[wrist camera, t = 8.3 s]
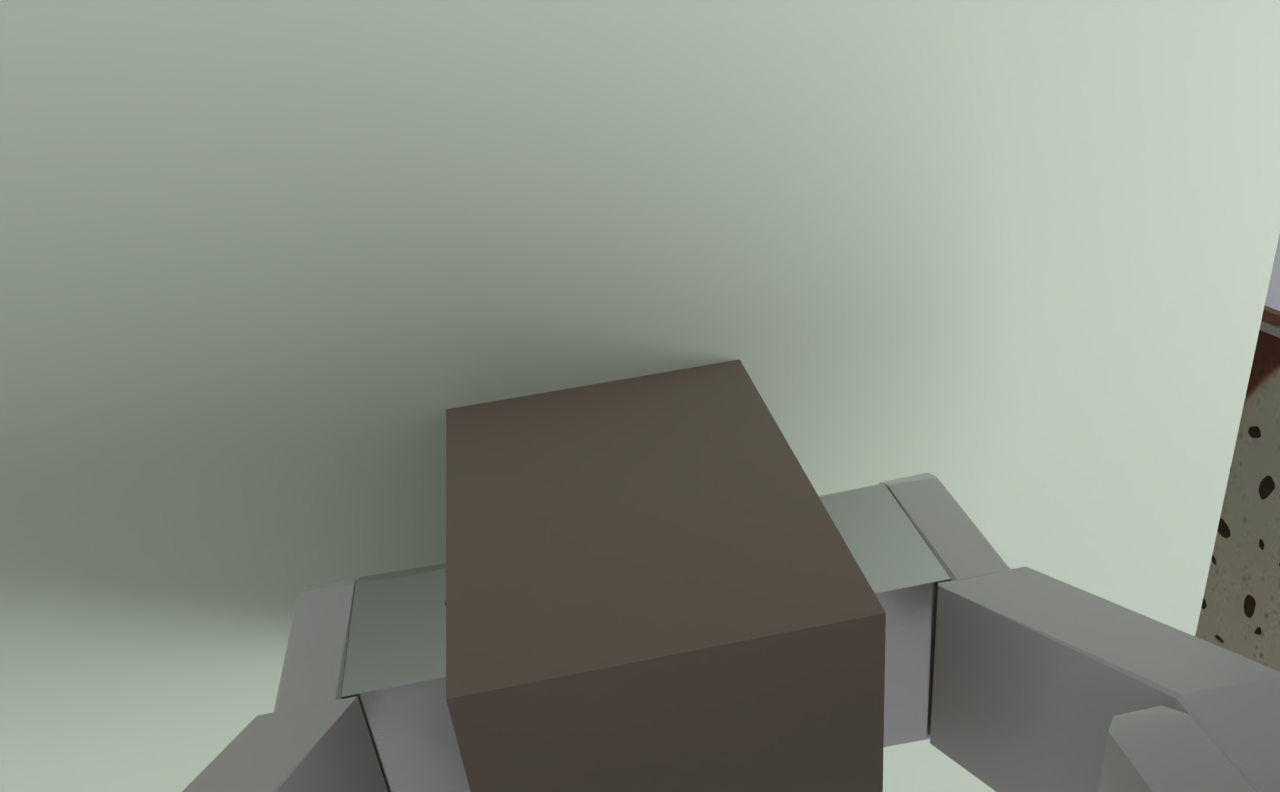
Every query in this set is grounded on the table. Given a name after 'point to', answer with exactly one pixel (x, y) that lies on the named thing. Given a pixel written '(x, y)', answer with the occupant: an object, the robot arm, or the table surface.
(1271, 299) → the table surface
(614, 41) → the lid
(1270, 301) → the table surface
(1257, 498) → the food container
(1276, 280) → the table surface
